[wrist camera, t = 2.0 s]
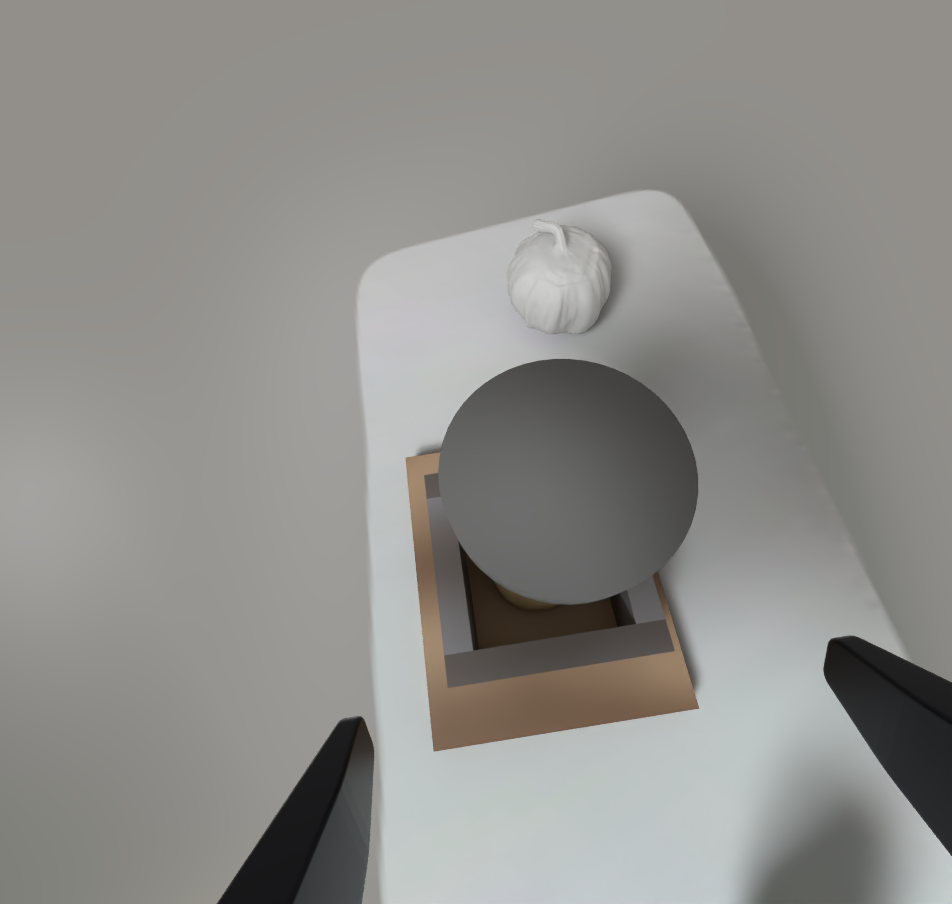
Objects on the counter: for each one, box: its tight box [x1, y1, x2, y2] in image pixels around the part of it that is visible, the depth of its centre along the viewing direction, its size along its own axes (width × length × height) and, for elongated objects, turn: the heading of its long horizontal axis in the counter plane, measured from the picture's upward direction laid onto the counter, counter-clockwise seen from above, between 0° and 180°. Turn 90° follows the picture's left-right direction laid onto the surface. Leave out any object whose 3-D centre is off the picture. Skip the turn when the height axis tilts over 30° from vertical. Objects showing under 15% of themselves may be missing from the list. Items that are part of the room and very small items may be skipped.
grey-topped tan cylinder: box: [438, 359, 698, 612], centre depth 14 cm, size 5×5×12 cm
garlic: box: [508, 219, 612, 334], centre depth 23 cm, size 6×5×5 cm
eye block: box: [406, 452, 699, 751], centre depth 18 cm, size 12×10×4 cm
